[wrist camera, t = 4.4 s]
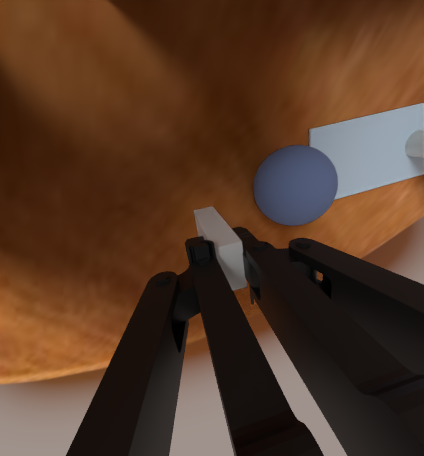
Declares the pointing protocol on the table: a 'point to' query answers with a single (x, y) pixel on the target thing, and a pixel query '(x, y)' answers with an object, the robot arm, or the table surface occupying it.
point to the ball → (295, 185)
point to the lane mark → (371, 149)
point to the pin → (415, 144)
